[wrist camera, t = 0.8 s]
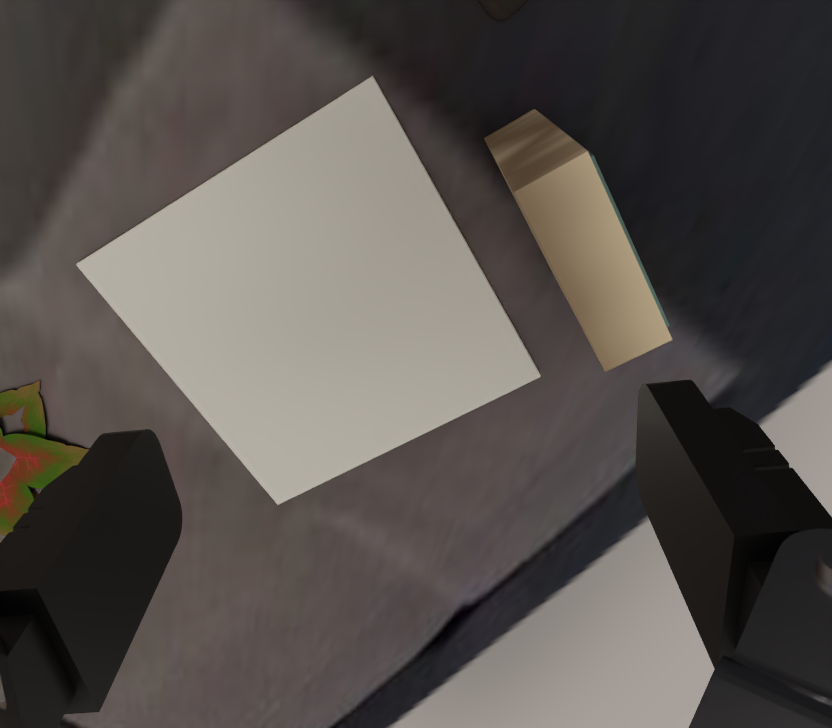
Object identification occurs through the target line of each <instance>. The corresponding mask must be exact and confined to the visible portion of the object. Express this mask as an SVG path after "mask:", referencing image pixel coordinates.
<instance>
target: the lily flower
mask: <svg viewBox="0 0 832 728" xmlns="http://www.w3.org/2000/svg"><path fill="white" fill-rule="evenodd" d="M39 390H40V381H38V382H35V383H34V384H32V385H27V386H24V387H20V388H18V390H17V391H15V390H9V391H6V392H2V393H0V418H1V417H3V416H5V415H13V414H14V413H15V412H17V411H18V410H19V409H20V408H21V407H23V406H24V405H25V407H24V411H23V415H22V419H21V421H22V423H23V425H24V434H9V435H6V436H3V433H2V430H1V428H0V447H1V448H3V449H4V450H6V451H7V452H9V453H10V454H12V455H14V456H15V457H17V459H16V461H15V462H14V464H13V466H12V468H11V470H10V472H9V474H8V475H7V476H6V477H5V478H4V479H3V480H2V481H1V482H0V534H2V535H5V536H6V535H7V534H8V533H9V532H13V526H14V525H15V524H16V523H17V521H18V520H19V519H20V518H21V516H22V515H23V514H24V513H28V508H29V506H30V505H31V504H32V502H33V501H34V500H35V499H36V497H37V496H38V495H39V494H36V493H31V491H30V490H29V488H28V486H29V487H33V488H40V489H43V488H44V487H45V486H46V485H48V484H49V483H50V482H52V481H53V480H54V479H56V478H57V477H58V476H60V475H61V474H62V473H64V472H65V471H66V470H68V469H69V468H70V467H72V466H73V465H78V464H79V462H80V461H81V460H82V458H83V456H85V454H86V453H87V452H88V450H89V449H84V448H80V447H75V446H66V445H65V444H63V443H59V442H54V441H49V440H46V439H45V435H46V425H45V417H44V410H43V404H42V399H41V398H40V396H39V394H38V391H39Z"/></svg>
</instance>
